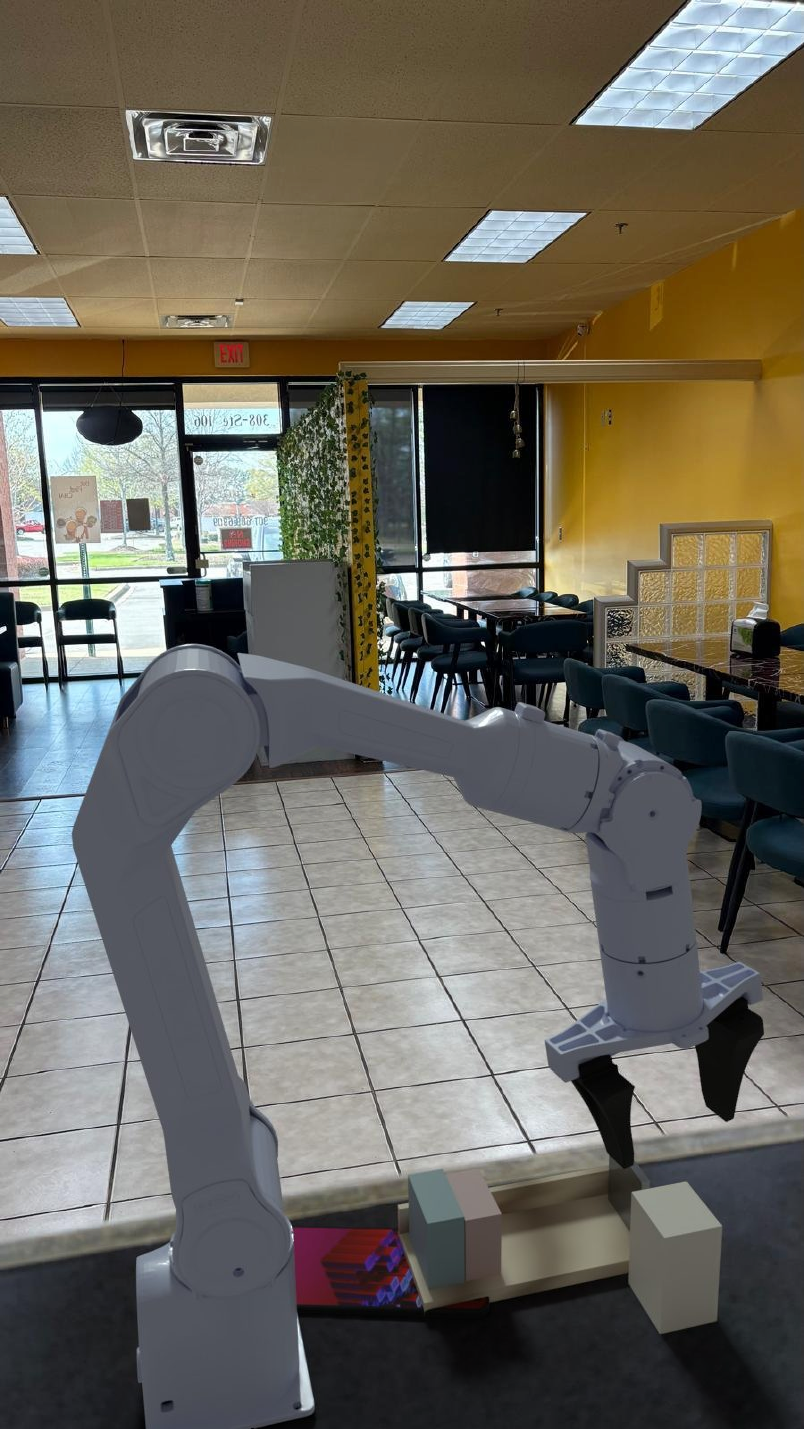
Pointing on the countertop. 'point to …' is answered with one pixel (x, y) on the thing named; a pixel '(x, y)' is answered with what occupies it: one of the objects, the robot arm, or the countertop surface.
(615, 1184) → the bookend
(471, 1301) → the smartphone
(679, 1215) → the book
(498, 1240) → the shelved books
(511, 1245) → the shelf board
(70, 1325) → the countertop surface
